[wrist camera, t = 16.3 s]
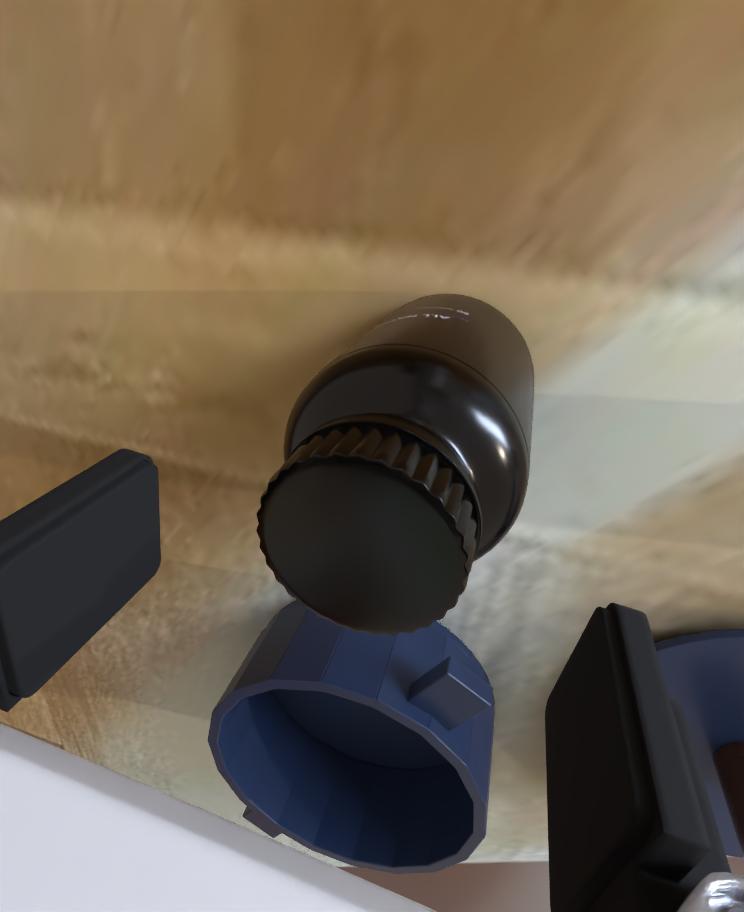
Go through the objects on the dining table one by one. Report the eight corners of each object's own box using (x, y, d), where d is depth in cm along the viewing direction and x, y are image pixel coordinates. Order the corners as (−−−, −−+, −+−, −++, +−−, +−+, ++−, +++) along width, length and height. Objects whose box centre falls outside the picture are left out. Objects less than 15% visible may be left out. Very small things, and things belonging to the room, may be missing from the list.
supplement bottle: (438, 250, 19) (325, 318, 9) (572, 372, 20) (613, 571, 9) (335, 380, 22) (167, 539, 12) (451, 480, 23) (384, 712, 13)
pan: (209, 686, 35) (153, 771, 30) (367, 514, 25) (324, 597, 20) (373, 805, 36) (347, 907, 31) (590, 686, 26) (603, 807, 21)
